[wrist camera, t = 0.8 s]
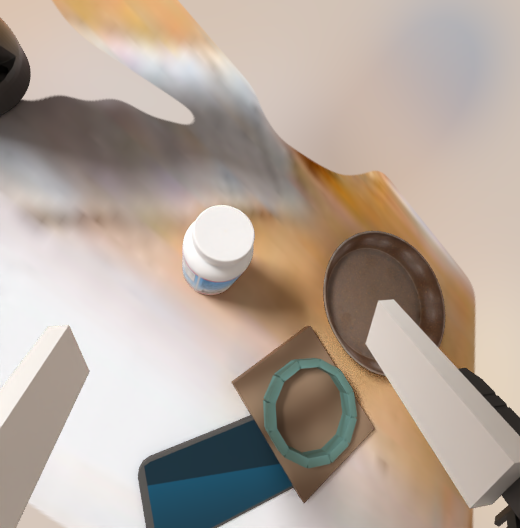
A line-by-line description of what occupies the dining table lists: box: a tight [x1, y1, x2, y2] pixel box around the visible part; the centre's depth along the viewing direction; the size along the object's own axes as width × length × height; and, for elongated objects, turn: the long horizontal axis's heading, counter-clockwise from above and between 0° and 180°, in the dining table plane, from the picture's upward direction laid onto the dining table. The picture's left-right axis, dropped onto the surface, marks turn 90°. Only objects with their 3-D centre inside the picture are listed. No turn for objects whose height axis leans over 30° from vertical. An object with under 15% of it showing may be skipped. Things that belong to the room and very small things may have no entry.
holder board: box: [232, 326, 374, 503], centre depth 28 cm, size 13×10×3 cm
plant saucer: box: [323, 231, 445, 376], centre depth 34 cm, size 18×18×3 cm
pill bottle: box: [183, 205, 255, 295], centre depth 25 cm, size 6×6×11 cm
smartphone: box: [138, 415, 294, 528], centre depth 26 cm, size 8×15×1 cm, turn 106°
